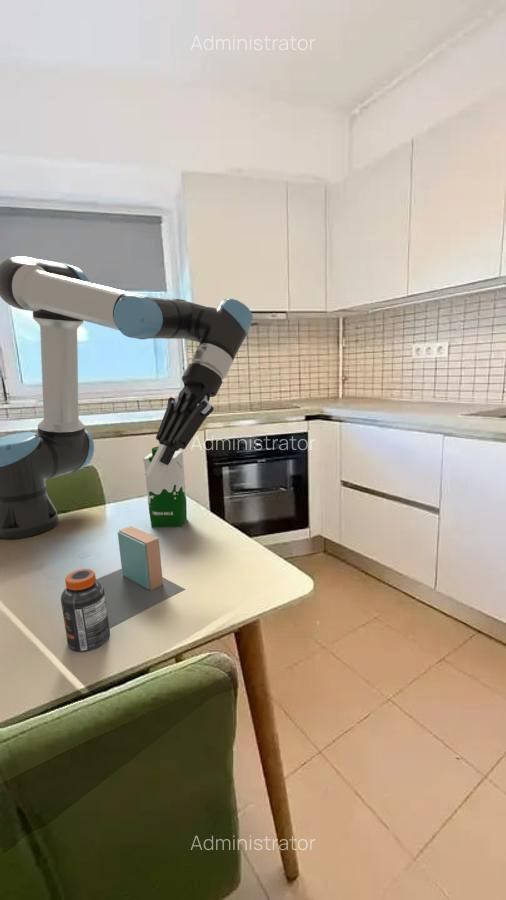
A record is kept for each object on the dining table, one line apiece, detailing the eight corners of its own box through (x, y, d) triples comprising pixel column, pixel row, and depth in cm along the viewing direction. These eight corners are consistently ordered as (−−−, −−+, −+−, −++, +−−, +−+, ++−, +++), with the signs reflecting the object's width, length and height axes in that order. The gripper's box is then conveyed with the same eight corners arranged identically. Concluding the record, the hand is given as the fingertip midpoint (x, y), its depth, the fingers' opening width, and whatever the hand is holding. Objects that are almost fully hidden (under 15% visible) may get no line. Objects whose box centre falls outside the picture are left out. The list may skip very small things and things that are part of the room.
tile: (122, 575, 85) (116, 531, 83) (135, 569, 87) (131, 526, 85) (149, 591, 79) (144, 543, 77) (163, 584, 81) (158, 538, 79)
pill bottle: (68, 637, 68) (57, 569, 65) (108, 627, 70) (100, 561, 68) (68, 662, 62) (57, 588, 60) (112, 649, 65) (103, 578, 62)
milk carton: (146, 531, 107) (138, 450, 103) (158, 517, 116) (151, 442, 112) (182, 531, 106) (175, 449, 102) (191, 517, 115) (185, 441, 111)
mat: (62, 597, 79) (61, 593, 79) (135, 566, 90) (135, 562, 89) (108, 633, 68) (107, 629, 68) (185, 593, 79) (185, 589, 79)
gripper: (175, 361, 91) (120, 463, 86) (213, 361, 82) (154, 476, 77) (200, 380, 96) (150, 479, 91) (239, 382, 86) (185, 493, 82)
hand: (152, 477), depth 84 cm, fingers closed
